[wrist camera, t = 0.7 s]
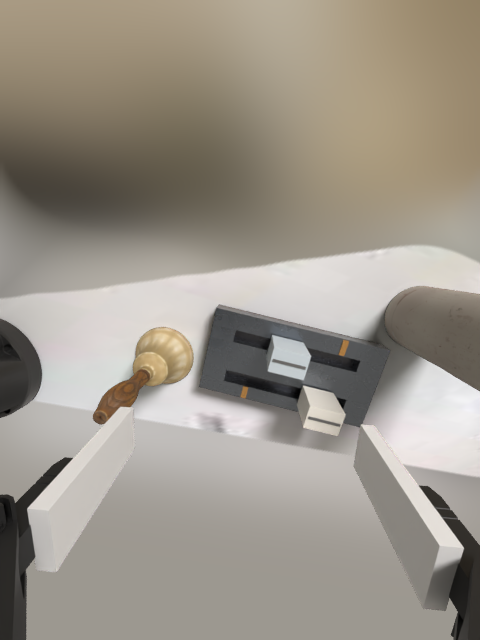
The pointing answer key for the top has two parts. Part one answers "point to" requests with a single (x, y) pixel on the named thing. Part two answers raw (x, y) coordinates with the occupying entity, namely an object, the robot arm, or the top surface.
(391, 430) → the top surface
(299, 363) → the fader
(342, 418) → the fader
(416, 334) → the thermos bottle
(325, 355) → the console
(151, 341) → the hand bell
